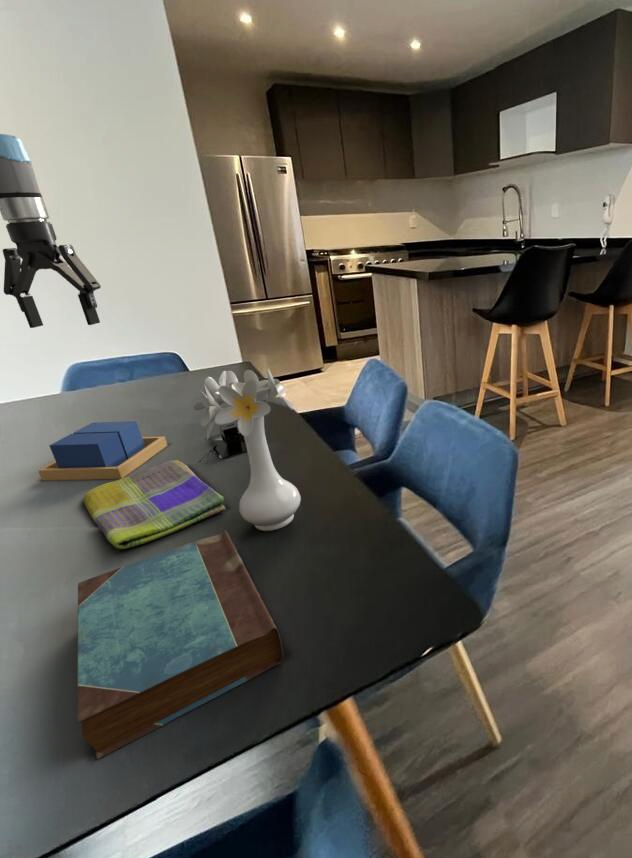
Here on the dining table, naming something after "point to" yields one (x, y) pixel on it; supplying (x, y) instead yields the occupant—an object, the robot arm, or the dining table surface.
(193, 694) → the book
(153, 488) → the dish towel
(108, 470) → the wooden tray
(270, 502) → the flower vase
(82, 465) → the pad
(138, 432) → the pad
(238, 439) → the black box
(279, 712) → the dining table surface
